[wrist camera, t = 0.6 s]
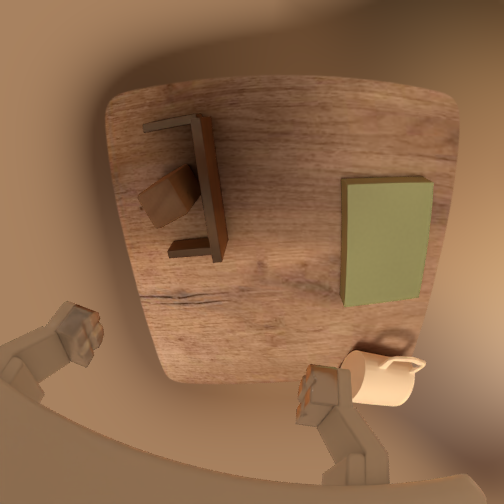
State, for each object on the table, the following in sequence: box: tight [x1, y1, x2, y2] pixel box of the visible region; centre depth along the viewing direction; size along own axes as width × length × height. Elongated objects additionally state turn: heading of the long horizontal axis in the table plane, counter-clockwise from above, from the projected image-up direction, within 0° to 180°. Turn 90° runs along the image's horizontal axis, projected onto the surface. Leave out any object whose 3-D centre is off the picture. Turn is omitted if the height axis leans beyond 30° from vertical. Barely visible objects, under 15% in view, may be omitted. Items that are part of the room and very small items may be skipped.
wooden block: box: [138, 164, 201, 229], centre depth 31 cm, size 4×4×8 cm
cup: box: [340, 350, 426, 406], centre depth 42 cm, size 8×12×10 cm
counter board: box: [340, 177, 434, 307], centre depth 36 cm, size 16×11×3 cm
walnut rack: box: [143, 114, 228, 263], centre depth 32 cm, size 16×7×6 cm, turn 6°
